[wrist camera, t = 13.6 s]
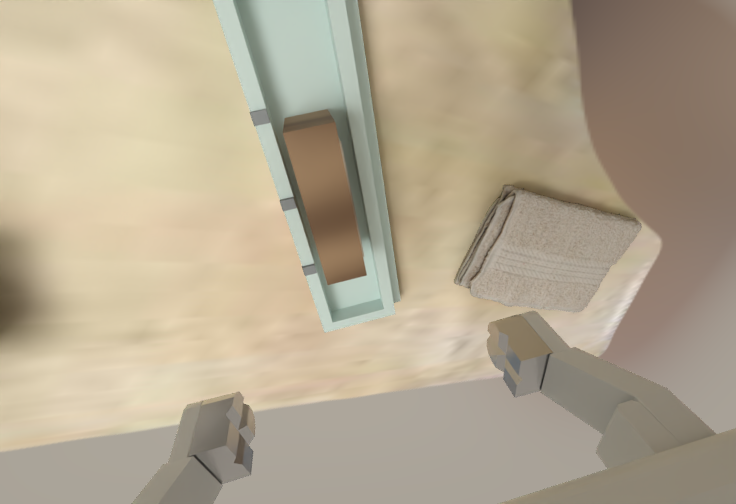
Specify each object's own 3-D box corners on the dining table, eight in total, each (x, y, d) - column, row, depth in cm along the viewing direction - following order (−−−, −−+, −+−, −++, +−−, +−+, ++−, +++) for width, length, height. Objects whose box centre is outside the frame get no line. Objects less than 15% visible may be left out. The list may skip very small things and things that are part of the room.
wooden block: (284, 118, 22) (282, 133, 18) (329, 108, 23) (337, 121, 18) (322, 250, 28) (327, 285, 24) (357, 242, 29) (368, 274, 24)
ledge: (211, -26, 19) (198, -38, 16) (347, -50, 19) (354, -65, 17) (322, 314, 33) (324, 335, 31) (398, 294, 34) (406, 313, 31)
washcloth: (495, 178, 30) (514, 190, 27) (633, 213, 35) (660, 226, 32) (445, 283, 35) (457, 302, 33) (571, 299, 41) (590, 316, 38)
